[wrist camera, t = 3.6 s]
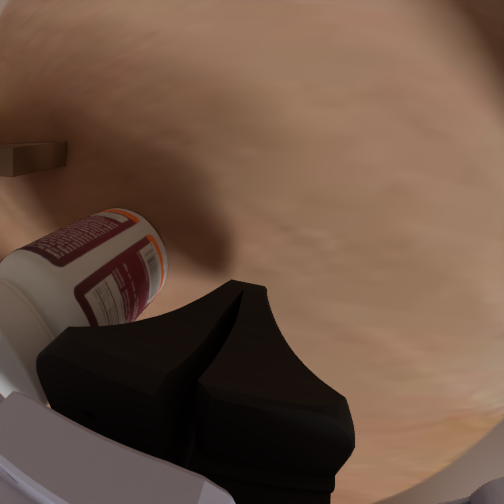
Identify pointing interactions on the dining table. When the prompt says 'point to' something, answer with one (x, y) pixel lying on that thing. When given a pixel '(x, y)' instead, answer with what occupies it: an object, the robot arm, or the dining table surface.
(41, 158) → the brown u-shaped block
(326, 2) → the dining table surface
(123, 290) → the pill bottle
